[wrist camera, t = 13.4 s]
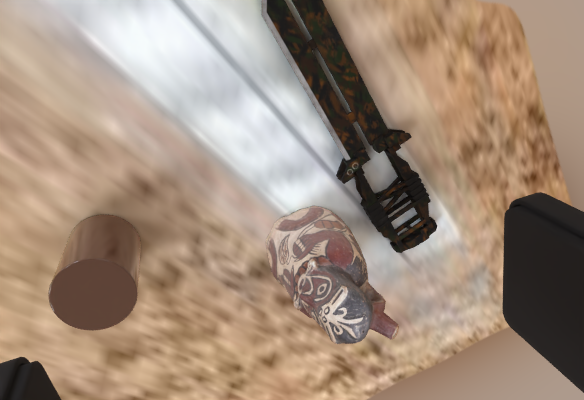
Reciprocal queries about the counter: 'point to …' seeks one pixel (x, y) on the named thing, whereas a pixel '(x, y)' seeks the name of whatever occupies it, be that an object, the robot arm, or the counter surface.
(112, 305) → the glossy brown cylinder
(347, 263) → the figurine
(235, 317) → the counter surface
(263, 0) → the dark flat slotted piece
